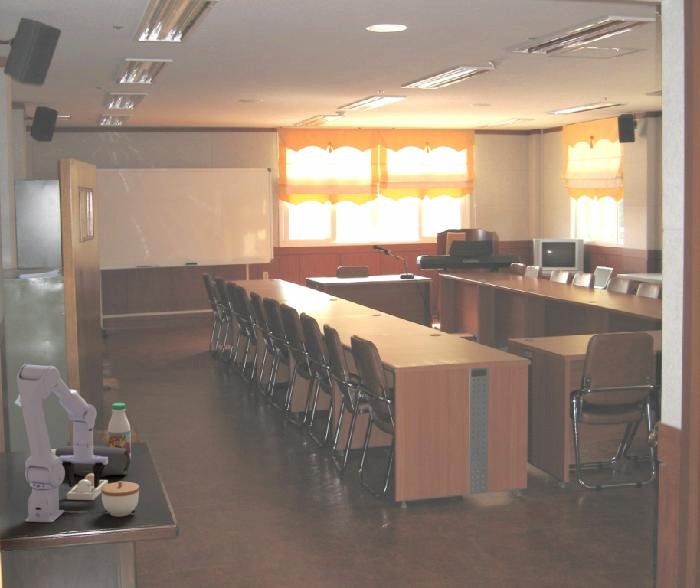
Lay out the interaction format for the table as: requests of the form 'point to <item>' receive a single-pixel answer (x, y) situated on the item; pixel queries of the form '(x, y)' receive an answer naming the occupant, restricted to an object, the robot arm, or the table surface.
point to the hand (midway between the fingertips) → (84, 486)
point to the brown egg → (90, 478)
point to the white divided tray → (86, 496)
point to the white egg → (84, 486)
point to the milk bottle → (119, 428)
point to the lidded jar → (120, 497)
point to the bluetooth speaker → (116, 456)
